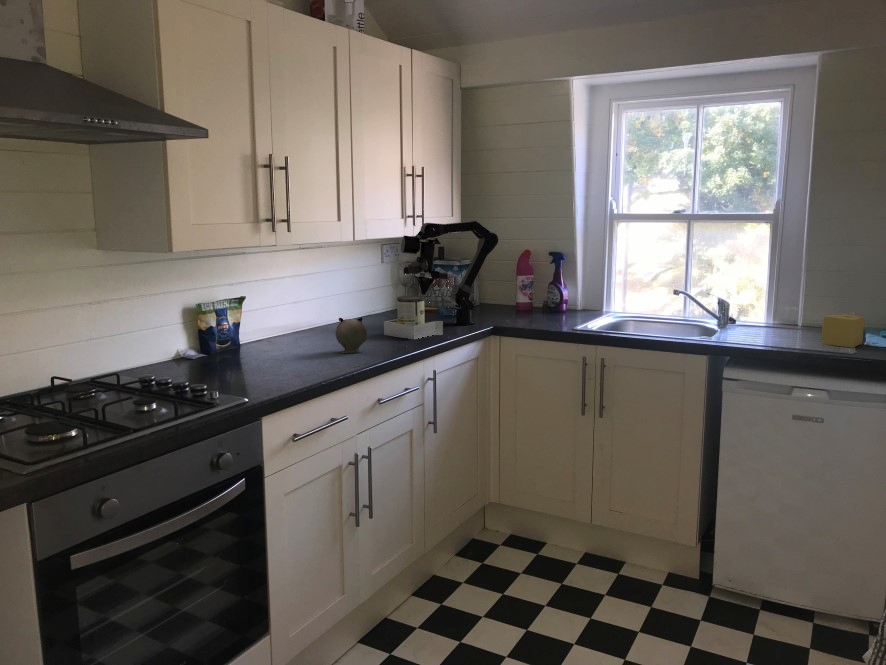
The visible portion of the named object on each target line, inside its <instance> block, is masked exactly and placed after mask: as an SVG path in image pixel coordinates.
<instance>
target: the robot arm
mask: <svg viewBox="0 0 886 665" xmlns="http://www.w3.org/2000/svg"><path fill="white" fill-rule="evenodd" d="M462 232H463V233H464V232H472V233H473V235H474V236H475V237H476V238H477V239H478V242H477V248H476V252H475V254H474V256H473V259H472V260H471V262H470V264H469V266H468V267H467V270H466V272H465V274H464V276H463V278H462V280H461V281H460V283H459V284H454V285H453V287H452V290H451V291H450V296H449V298H450V299H449V300H450V301H451V302H452V304H454V307H455V308H456V309H455V310H456V311H455V322H453V323H452V324H453V325H459V326H469V325H470V326H471V325H475V324H476V322H474V321H473V310H474V307H475V304H474V303H473V302H472V300H470V298H471V295H472V294H471V293H472V287H473V285H474V282H475V281H476V279H477V276H478V274H479V272H480V271H481V269H482V267H483V264H484V262H485V261H486V258H487V257H488V256H489V255H490V253H491V252H492V251H494V249H495V247H496V246H497V245H498V243H499V241H500V240H499V236H498V235H497V234H496V233H495V232H491V231H490V230H489V229H487V228H486V227H484V226H483V225H482V224H481V223H480V222H479V221H478V220H469V221H463V222H462V221H461V222H452V223H434V222H424V223H423V224H422V225H421V226H420V230H419V231H418V232H417V234H416V235H415V236H409V235H403V236H402V240H401V243H400V252H401V254H411V255H416V254H417V253H419V256H417V257H416V261H412V262H411V263H409V264H407V266H404V268H403V274H406V275H410V274H414V275H413V278H415V279H416V280H417V282H418V283H419V288H420V292H421V296H422V295H424V296H425V295H426V293H427V292H428V290H429V289H430V287H431V285H432V284H433V282H434V281H435V280H445V279H446V280H448V276H449V274H448V272H447V271H444V270H436V268H434V263H435V262H436V261H437V258H435V252H436V251H435V250H436V245H441V242H440V240H439V239H438V238H437V237H440V236H443V235H447V234H453V233H462ZM429 238H430V239H429Z"/></svg>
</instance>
